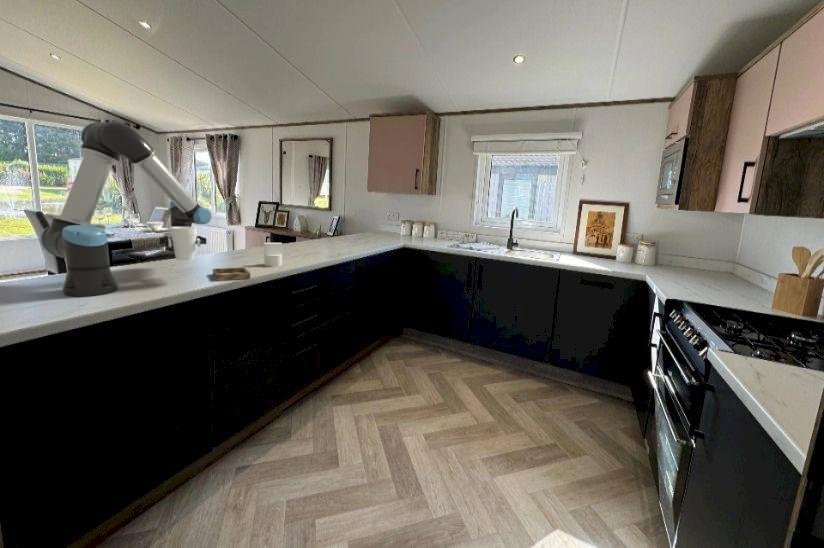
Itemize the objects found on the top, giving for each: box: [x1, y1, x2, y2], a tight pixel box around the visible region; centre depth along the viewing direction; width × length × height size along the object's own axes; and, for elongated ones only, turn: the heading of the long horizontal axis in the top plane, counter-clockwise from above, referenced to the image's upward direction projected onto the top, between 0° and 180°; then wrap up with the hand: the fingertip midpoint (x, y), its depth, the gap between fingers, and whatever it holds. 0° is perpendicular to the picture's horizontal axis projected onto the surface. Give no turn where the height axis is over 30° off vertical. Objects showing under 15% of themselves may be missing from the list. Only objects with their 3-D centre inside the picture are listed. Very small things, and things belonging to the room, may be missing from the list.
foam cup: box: [169, 226, 198, 261], centre depth 153 cm, size 10×9×13 cm
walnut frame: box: [212, 266, 251, 282], centre depth 170 cm, size 14×14×3 cm
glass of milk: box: [263, 242, 283, 268], centre depth 200 cm, size 9×9×12 cm
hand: (184, 243), depth 149 cm, fingers closed on foam cup, 9 cm apart
